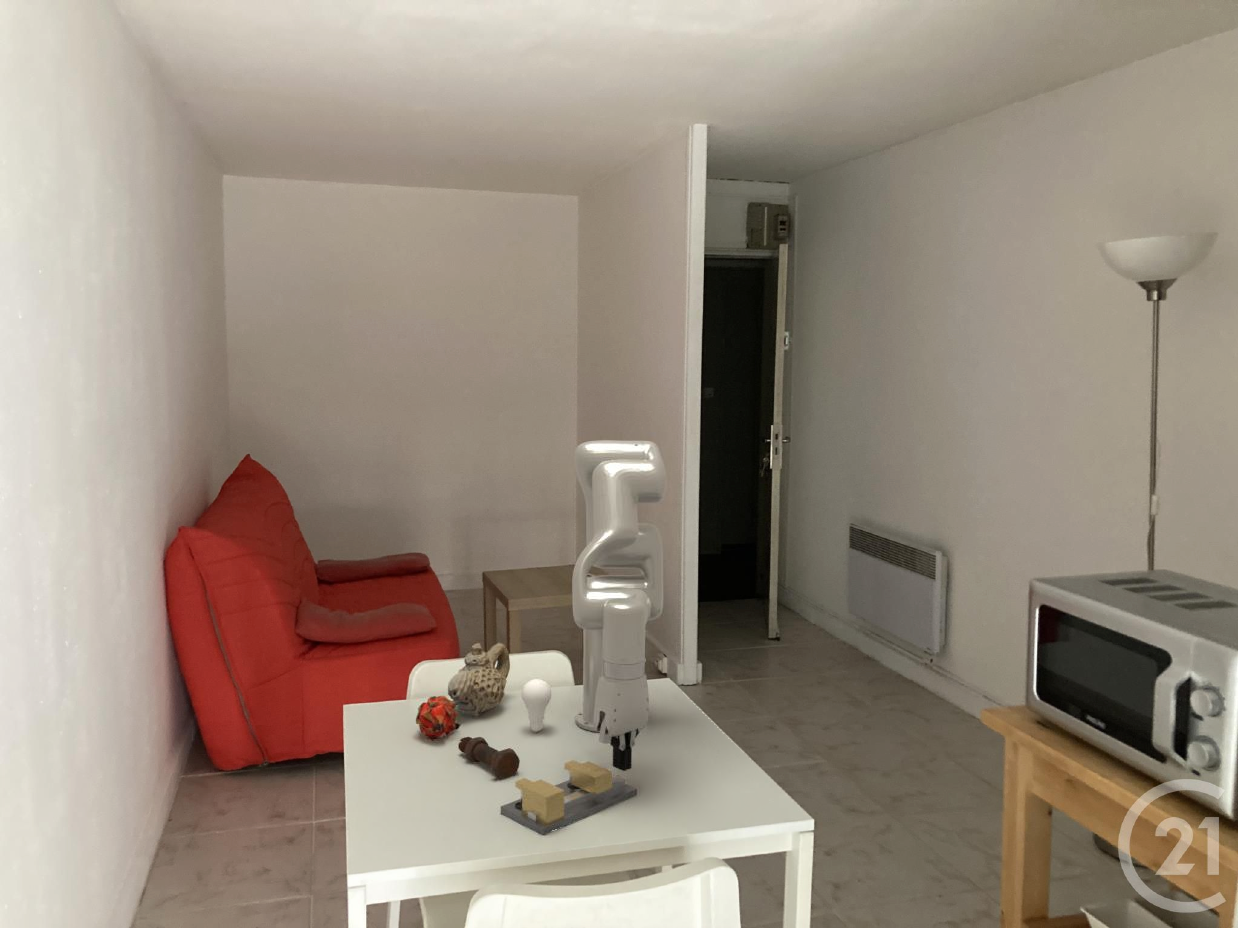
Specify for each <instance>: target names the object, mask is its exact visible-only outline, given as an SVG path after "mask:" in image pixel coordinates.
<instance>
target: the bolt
mask: <svg viewBox="0 0 1238 928" xmlns="http://www.w3.org/2000/svg"><path fill="white" fill-rule="evenodd" d="M459 741H460V742H458V745H457V746H458V750H459V751H460V752H461V753H462V754H464V755H465V757H466V759H467V760H468V761H469V762H470V763H472V764H477V763H482V764H484V765H487V766H488V767H489V768H490V769H491V771H492V773H493V774H494V775H495V776H494V777H495V778H497V779H498V780H505V779H506V780H507V779H509V778H512V777H514V776H515V775H516V774H517V772H518V770H519V768H520V761H521V760H520V758H519V756H518V754H517V753H516V751H515V750H514V749H512V748H511V747H509V748H504V749H502V750H498V749H497V748H496V749H495V748H493V747H491V746H490V745H489V743H488V742H487V740H486V739H485V738H484V737H483V736H477V737H473V738H472V737H470V736H466V737H465V736H464V737H462V738H461V739H460V740H459Z"/></svg>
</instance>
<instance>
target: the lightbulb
mask: <svg viewBox="0 0 1238 928" xmlns="http://www.w3.org/2000/svg"><path fill="white" fill-rule="evenodd" d="M551 699H552V689H551V687H550V685H549V684H548V683H547V682H546V681H545V680H543V679H540V678H535V679H534V678H533V679H531V680H529V681H527V682H526V683H525V684H524V686H523V687H522V690H521V700H522V701H523V704H524V705H525V707H526V709H527V712H528V713H527V714H528V719H529V726H530V727H529V728H530V729H531V730H532V731H533V732H534V733H539V732H540V731H541V730H543V724H544V719H545V713H546V709H547V707H548V705H549V703H550V702H551Z"/></svg>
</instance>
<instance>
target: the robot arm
mask: <svg viewBox="0 0 1238 928" xmlns="http://www.w3.org/2000/svg"><path fill="white" fill-rule="evenodd" d="M574 466H575V467H574V468H575V473H576V476H577V480H578V482H579V485H580V488H581V491H582V493H583V495H584V500H585V510H586V511H585V515H586V517H585V520H586V521H585V523H586V524H585V525H586V526H585V527H586V528H585V529H586V530H585V531H586V534H585V535H586V546H585V548H584V549H583V550H582V551H581V552H580V554H579V556H578V558H577V560H576V562H575V564H574V567H573V572H572V578H571V579H572V581H571V585H572V586H571V587H572V590H571V592H572V593H571V594H572V616H573V619H574V622H575V624H576V625H577V627H579V629H582V634H583V636H582V637H583V643H582V644H583V645H582V646H583V652H582V653H583V657H582V658H583V661H582V662H583V665H582V667H583V669H582V670H583V671H582V673H583V676H582V684H583V685H582V710H581V711H579V712H577V714H576V715H575V725H577V726H578V727H579V728H581V729H583V730H585V731H590V732H595V733H599V735H598V742H600V743H602V744H603V745H604V744H606V745H607V744H609V746H611V747H612V766H613V768H615V769H618V770H619V771H622V772H626V771H628V770H631V769H632V765H633V764H632V762H633V761H632V760H633V759H632V758H633V757H632V755H633V754H632V752H633V750H632V749H633V747H634V746H635V745H636V744H635V743H636V738H637V736H638V734H640V733H641V732H642V731H644V730H645V729H646V728H647V727H646V725H647V724H648V722H649V718H650V717H649V716H650V699H649V698H650V696H649V695H650V694H649V686H648V679H647V674H646V672H645V669H646V667H645V666H646V665H645V664H646V663H647V659H646V657H645V656H646V652H645V651H646V647H645V645H646V625H647V622H648V621H653V620H656V619H658V618H660V617H661V615H662V612H663V608H664V552H663V551H664V549H663V538H662V535H661V533H660V532H661V531H660V529H659V528H658V527H657V526H656V525H654V524H651V523H647V522H639V520H638V504H641V503H642V504H644V503H645V504H646V503H647V504H650V503H651V504H652V503H653V504H655V503H656V504H657V503H660V502H662V501H663V500H664V499H665V497H666V495H667V494H666V493H667V490H668V488H667V487H668V478H667V472H666V471H667V469H666V467H665V463H664V460H663V457H662V455H661V451H660V448H659V446H658V445H657V444H656V442H653V441H650V440H615V439H610V440H609V439H601V440H590V441H585V442H583V443H580V444H578V445H577V446H576V448H575V451H574ZM591 567H595V568H598V569H637V570H639V571H640V572H641V574H599V575H593V576H590V577H588V575H589V571H590V569H591Z"/></svg>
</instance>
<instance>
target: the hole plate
mask: <svg viewBox="0 0 1238 928" xmlns="http://www.w3.org/2000/svg"><path fill="white" fill-rule="evenodd" d="M515 788H517V789H519V790H520V798H519V799H517V800H514V801H511V802H509V803H506V804H503V805H501V806H500V814H501V815H503V816H505V817H507V818H509V819H511V820H513V821H515V822H517V823H518V822H519V824H520V823H521V825H522V824H523V826H524V825H525V827H526V826H527V827H526V828H528V827H529V829H530V830H532V829H533V830H532V831H534V832H536V833H538V834H540V833H541V834H540V835H542V836H545V835H547V834H546V833H548V834H550V833H552V832H553V831H552V830H555V829H557V830H559V829H561V828H560V827H562V828H564V827H566V826H568V825H567V824H569V823H571V824H573V823H575V822H574V821H576V822H578V821H580V820H582V819H581V818H583V819H585V818H587V817H590V816H592V815H594V814H596V812H597V813H599V812H601V811H603V810H605V809H608V808H610V807H612V806H615V805H617V804H619V803H622V802H624V801H626V800H627V801H628V800H629V799H631V798H634V797H636V796H638V788H637V787H634V786H633V785H631V784H628V783H626V778H625V777H622V776H621V775H615V776H612V788H611V789H609V790H606V791H604V792H601V793H599V794H596V795H595V794H592V793H590V792H588V791H586V790H583V789H581V788H579V787H577V786H574V785H571V784H569V779H568V780H565V781H563V782H561V783H557V784H555V785H554V784H552V783H549V782H547V781H545V780H543V779H538V780H535V781H532V780H530V779H527V778H526V777H523V778H520V779H519V780H516V781H515ZM579 819H580V820H579ZM577 820H578V821H577ZM572 822H573V823H572ZM565 825H566V826H565ZM569 825H570V824H569ZM563 826H564V827H563ZM558 828H559V829H558ZM551 831H552V832H551ZM555 831H556V830H555ZM549 832H550V833H549Z"/></svg>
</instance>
